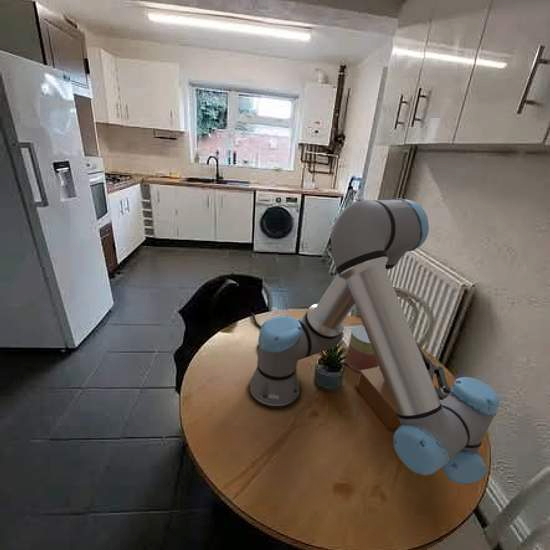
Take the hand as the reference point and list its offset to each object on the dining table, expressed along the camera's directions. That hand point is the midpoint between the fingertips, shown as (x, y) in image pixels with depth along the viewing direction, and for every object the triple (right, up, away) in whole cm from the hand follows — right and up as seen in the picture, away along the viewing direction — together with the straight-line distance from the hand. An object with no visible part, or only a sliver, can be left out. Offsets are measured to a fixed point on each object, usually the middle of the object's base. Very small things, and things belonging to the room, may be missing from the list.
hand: (401, 351), depth 92 cm
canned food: (-7, -9, +19) cm, 22 cm away
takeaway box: (-1, -16, +2) cm, 16 cm away
